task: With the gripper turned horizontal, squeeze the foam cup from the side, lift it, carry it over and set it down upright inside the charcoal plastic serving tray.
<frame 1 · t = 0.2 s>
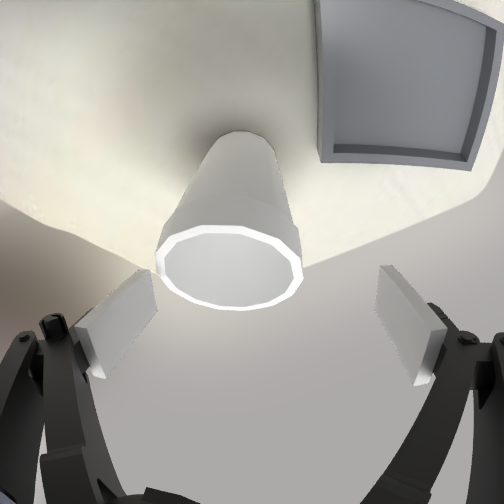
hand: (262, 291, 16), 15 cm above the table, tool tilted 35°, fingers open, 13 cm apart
serving tray: (409, 74, 17), on the table
foam cup: (242, 158, 26), on the table
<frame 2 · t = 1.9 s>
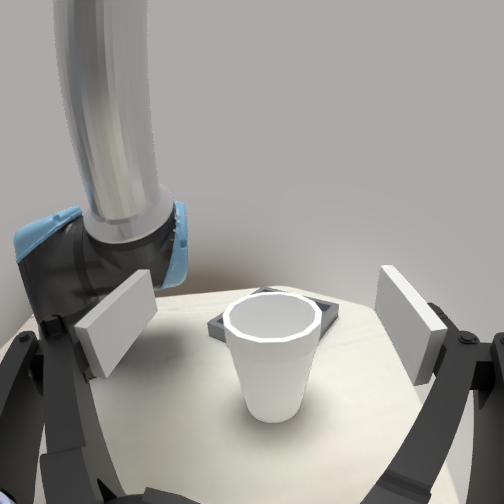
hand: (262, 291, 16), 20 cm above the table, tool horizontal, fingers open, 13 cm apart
serving tray: (276, 326, 47), on the table
foam cup: (273, 404, 31), on the table
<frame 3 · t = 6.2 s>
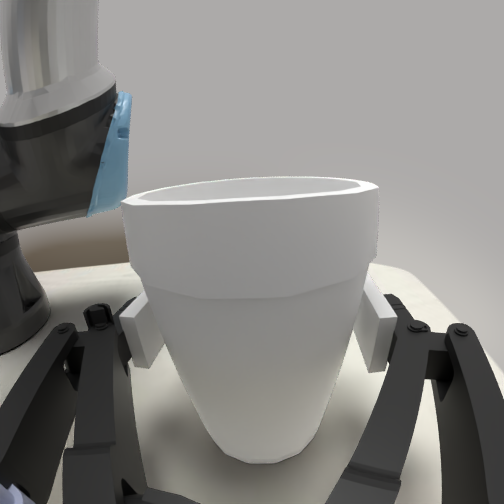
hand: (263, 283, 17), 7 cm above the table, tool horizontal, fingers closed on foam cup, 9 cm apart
foam cup: (263, 423, 15), on the table, touching gripper
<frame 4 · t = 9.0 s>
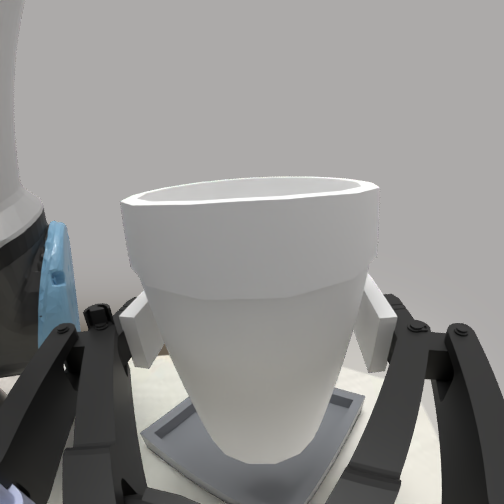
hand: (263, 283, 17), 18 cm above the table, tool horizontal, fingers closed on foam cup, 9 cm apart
serving tray: (258, 437, 24), on the table
foam cup: (263, 423, 15), point 11 cm above the table, touching gripper
when the fingers open (9 cm above the table, at t = 11.7 s): foam cup drops 1 cm, resting on serving tray.
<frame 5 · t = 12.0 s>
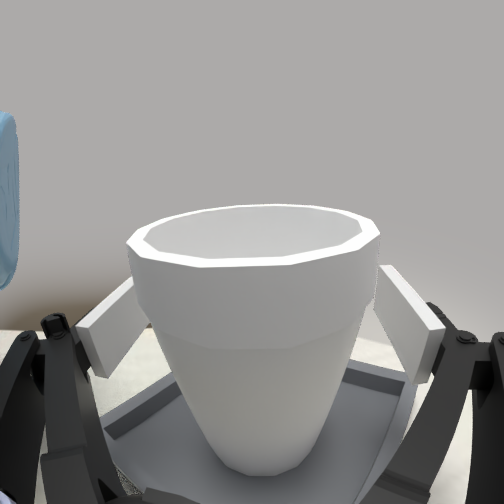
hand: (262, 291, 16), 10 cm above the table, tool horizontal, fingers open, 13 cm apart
serving tray: (264, 442, 15), on the table
foam cup: (262, 437, 15), point 1 cm above the table, touching serving tray
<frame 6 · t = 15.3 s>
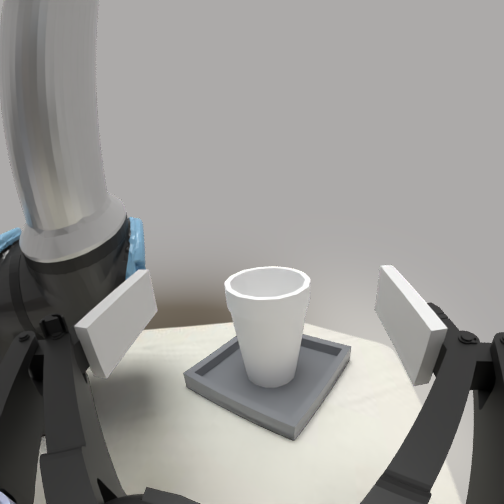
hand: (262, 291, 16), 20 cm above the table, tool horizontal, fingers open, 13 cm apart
serving tray: (271, 376, 36), on the table
foam cup: (271, 373, 35), point 1 cm above the table, touching serving tray
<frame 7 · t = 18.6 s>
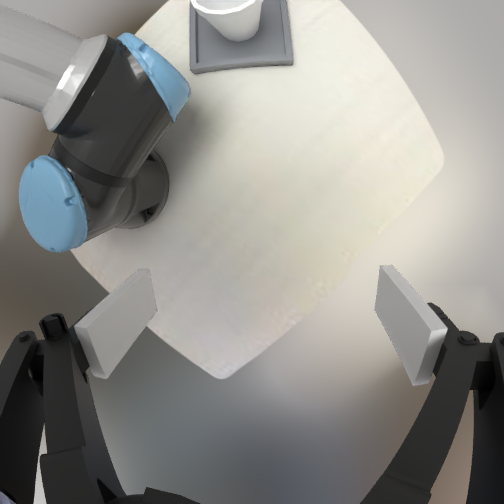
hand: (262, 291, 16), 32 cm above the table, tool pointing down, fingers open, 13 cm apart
serving tray: (240, 28, 37), on the table
foam cup: (239, 26, 36), point 1 cm above the table, touching serving tray
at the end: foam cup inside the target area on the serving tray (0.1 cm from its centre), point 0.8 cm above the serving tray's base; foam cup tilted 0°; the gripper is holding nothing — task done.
